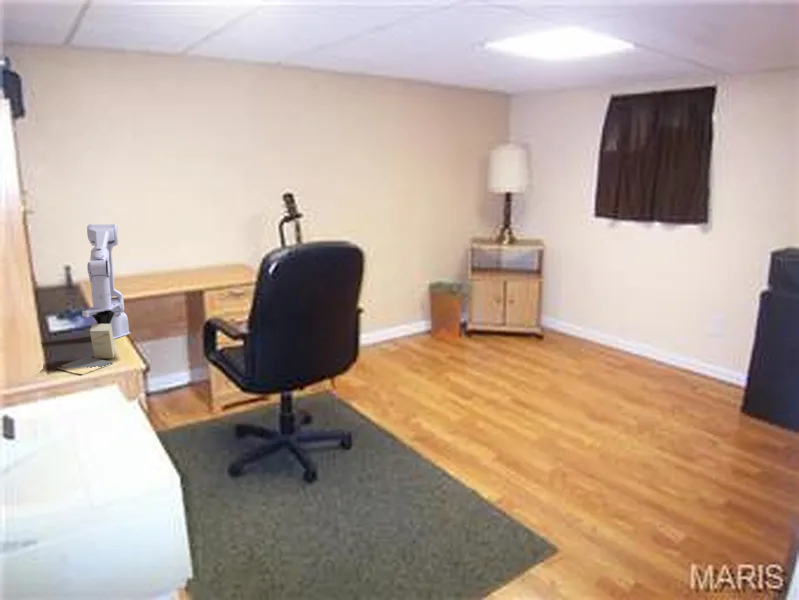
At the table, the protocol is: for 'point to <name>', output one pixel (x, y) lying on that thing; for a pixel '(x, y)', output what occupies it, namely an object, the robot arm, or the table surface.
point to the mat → (87, 363)
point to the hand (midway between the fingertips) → (104, 332)
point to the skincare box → (102, 340)
